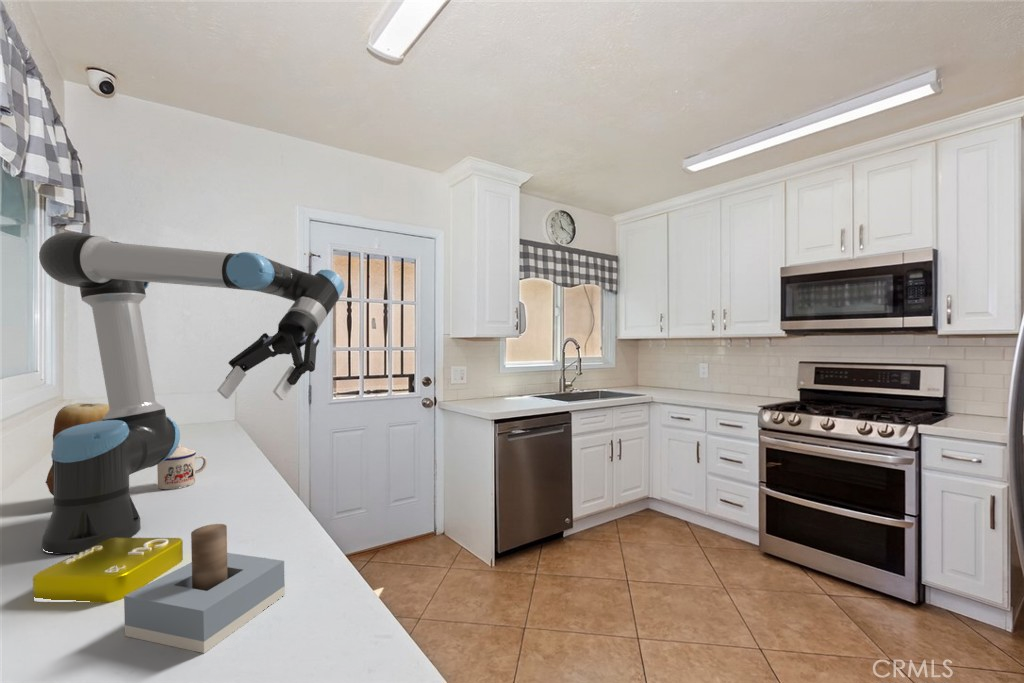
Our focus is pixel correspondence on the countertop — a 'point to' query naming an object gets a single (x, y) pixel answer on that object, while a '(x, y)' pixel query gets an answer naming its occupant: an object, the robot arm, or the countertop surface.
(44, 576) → the element tile
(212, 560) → the pin
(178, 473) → the enamel mug
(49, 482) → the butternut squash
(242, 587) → the socket block
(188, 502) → the countertop surface
